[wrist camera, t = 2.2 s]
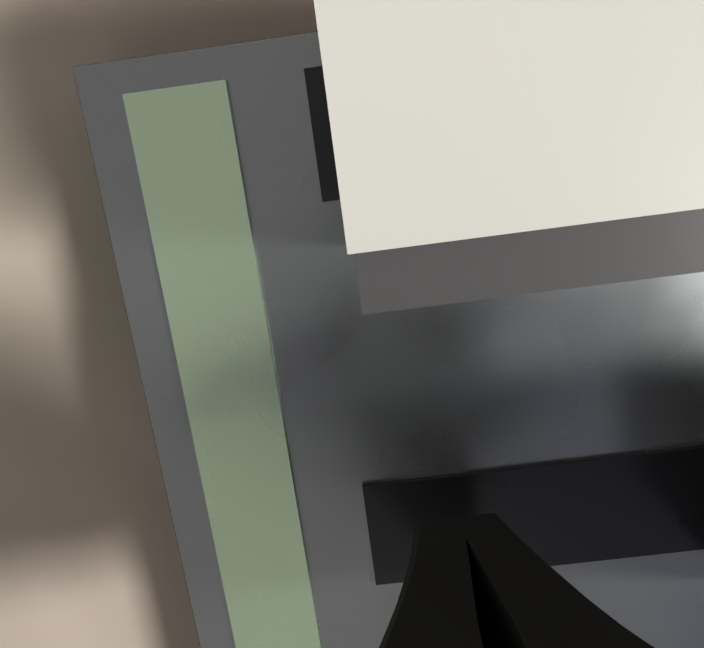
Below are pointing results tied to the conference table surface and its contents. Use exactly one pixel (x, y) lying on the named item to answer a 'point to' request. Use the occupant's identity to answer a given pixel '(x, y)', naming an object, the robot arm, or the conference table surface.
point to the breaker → (514, 144)
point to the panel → (373, 377)
